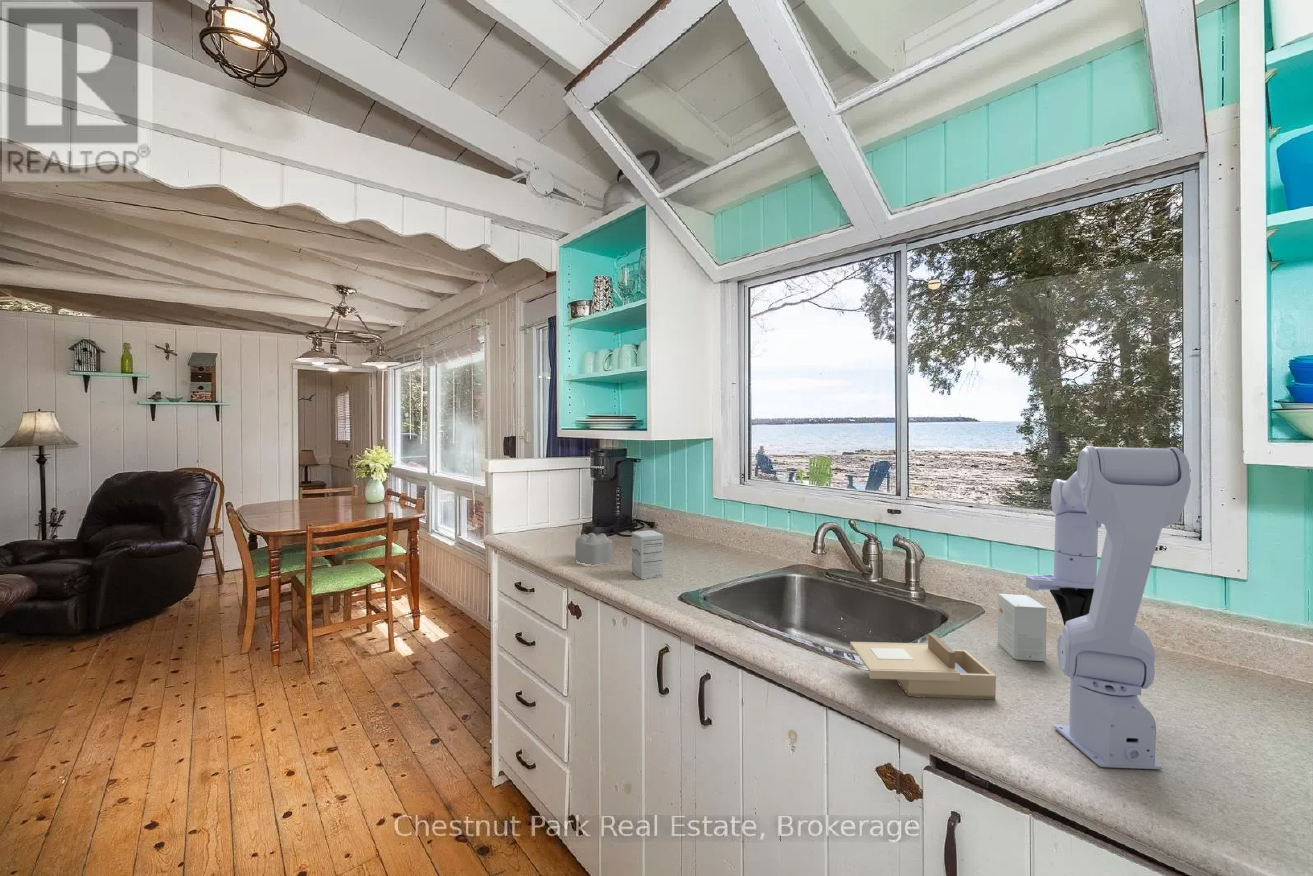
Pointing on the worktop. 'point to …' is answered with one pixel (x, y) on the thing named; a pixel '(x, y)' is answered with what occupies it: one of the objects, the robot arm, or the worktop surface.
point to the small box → (1022, 627)
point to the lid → (908, 660)
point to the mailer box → (971, 685)
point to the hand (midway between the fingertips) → (1073, 632)
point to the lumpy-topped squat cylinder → (593, 549)
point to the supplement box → (647, 554)
